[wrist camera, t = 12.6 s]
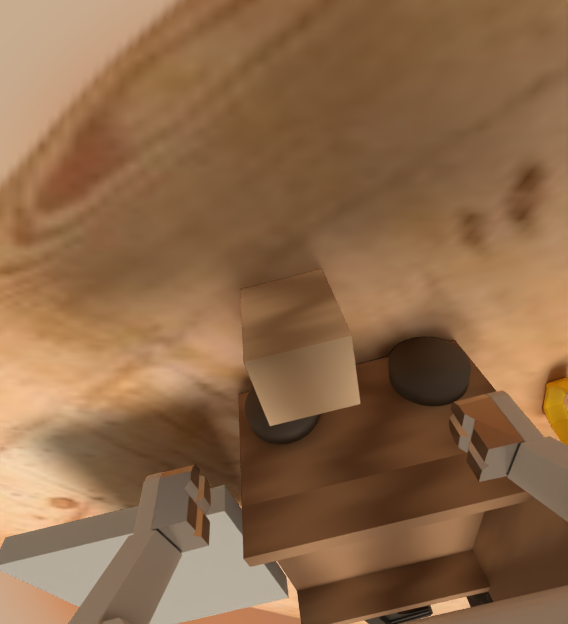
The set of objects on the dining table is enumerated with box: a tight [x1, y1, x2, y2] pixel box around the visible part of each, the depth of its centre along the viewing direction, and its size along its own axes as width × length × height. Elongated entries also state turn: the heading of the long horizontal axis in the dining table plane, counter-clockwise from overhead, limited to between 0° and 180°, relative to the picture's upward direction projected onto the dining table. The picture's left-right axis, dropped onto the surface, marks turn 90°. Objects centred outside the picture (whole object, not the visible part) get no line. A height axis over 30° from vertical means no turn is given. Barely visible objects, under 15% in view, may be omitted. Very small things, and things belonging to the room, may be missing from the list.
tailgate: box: [0, 485, 289, 624], centre depth 20 cm, size 2×14×11 cm
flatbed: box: [239, 337, 568, 624], centre depth 20 cm, size 13×16×12 cm
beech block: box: [240, 269, 360, 426], centre depth 16 cm, size 4×4×5 cm
